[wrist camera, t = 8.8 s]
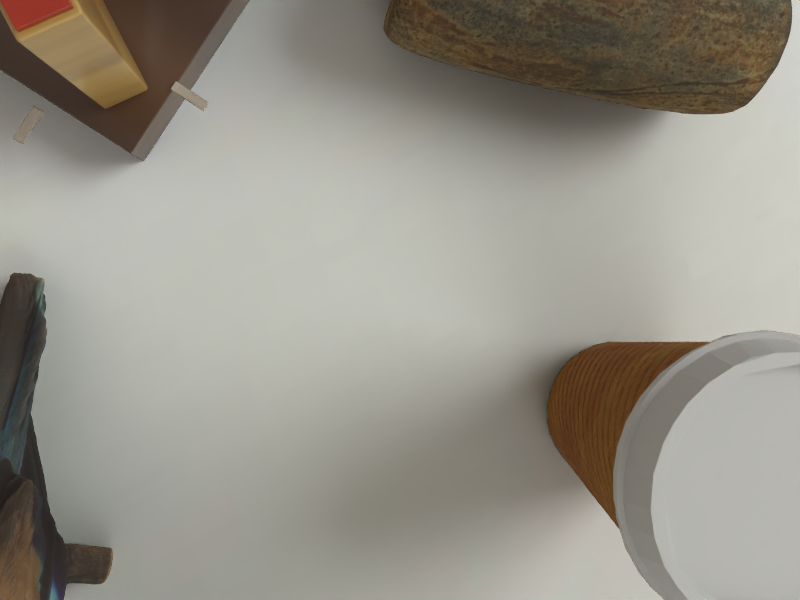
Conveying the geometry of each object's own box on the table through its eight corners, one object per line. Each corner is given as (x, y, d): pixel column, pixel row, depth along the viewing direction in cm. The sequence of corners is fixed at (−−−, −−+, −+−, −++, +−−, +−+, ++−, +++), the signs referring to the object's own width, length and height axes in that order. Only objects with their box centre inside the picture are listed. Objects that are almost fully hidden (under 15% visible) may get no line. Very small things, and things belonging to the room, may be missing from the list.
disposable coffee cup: (698, 292, 34) (915, 313, 22) (717, 492, 35) (937, 615, 23) (499, 322, 33) (618, 361, 21) (524, 529, 34) (652, 679, 22)
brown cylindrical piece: (718, -24, 33) (825, -91, 27) (699, 132, 34) (799, 104, 27) (389, -83, 31) (417, -173, 24) (372, 85, 31) (395, 41, 25)
